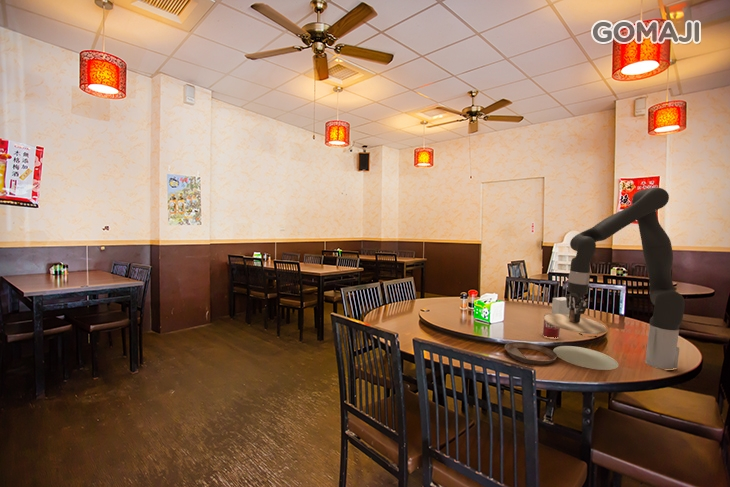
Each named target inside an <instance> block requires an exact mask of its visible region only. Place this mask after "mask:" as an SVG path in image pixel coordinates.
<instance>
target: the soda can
mask: <svg viewBox="0 0 730 487" xmlns="http://www.w3.org/2000/svg"><path fill="white" fill-rule="evenodd" d="M548 314H552V312H551V313H549V312H547V313H545V314H544V315H543V317H544V316H545V315H548ZM560 329H561V328H559V327H556V326H553V325H551V324H549V323H547V322H546V321H545V320H544V319H543V327H542V336H543V335H544V336H547V337H554V338H555V337H556V338H557V337H559V338H560Z"/></svg>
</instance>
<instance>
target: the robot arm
mask: <svg viewBox="0 0 730 487" xmlns="http://www.w3.org/2000/svg"><path fill="white" fill-rule="evenodd" d="M669 200H670V195H669V193H668V192H667V190H666V189H664V188H661V187H649V188H644V189H640V190H638V191H636V192H635V193H634V194H633V196H632V199H631V203H632V204H631V205H629V206H628V207H626V208H624V209H622V210H620V211H618V212H616V213H613V214H612V215H610V216H608V217H606V218H604V219H602V220H601V221H599V222H598V223H597V224H595V225H594V226H593V227H590V228H588V229H586V230H584V231H581V232H579V233H578V234H576V235H574V236H573V237H572V238H571V239H570V242H569V246H570V248H571V249H572V250H573V251H575V252H576V255H575V257H572V259H571V260H570V261H571V262H570V267H569V268H570V269H569V274H568V281H567V289H566V290H567V292H569V293H568V294H565V298H566V302H567V308H569V310H570V312H571V310H575V313H574V322H580V317H581V315H583V314H585V313H586V310H587V308H588V305H589V303H588V301H585V295H587V294H588V293H589V286H590V285H589V284H590V272H591V271H590V270H591V262H592V261H593V257H594V255H595V253H596V249H597V244H596V243H597V242H602V241H605V240H607V239H609V238H610V237H612V236H613V235H615V234H616V233H618V232H619V231H620V230H622V229H624V228H625V227H627V226H629V225H630V224H633V223H634V222H637V225H638V230H639V235H640V240H641V247H642V248H641V249H642V253H643V257H644V262H645V267H646V270H647V273H648V274H647V275H648V278H649V279H648V281H649V299H650V302H651V303H652V305H653V306H654V308H653V312H652V317H650V318H649V325H648V326H649V328H648V335H647V344H646V352H645V364H647V365H648V366H650V367H653V368H655V367H657V368H656V369H658V368H663V369H673V368H677V369H678V365H679V364H678V363H679V358H680V357H679V355H680V347H679V346H678V340H679V334H680V332H679V331H680V327H681V325H682V323H683V319H684V313H685V304H686V303H685V298H684V296H683V295H682V294H681V293H680V292H678V291H676V289H675V286H674V283H673V280H672V268H673V263H674V252H673V246H672V241H671V239H670V237H669V236H668V234H667V233H666V231H665V229H664V228H663V226H661V224H660V222H659V220H658V219H659V218H658V216H657V215H658V214H657V211H658V210H660V209H662V208H664V207H665V206H666V205H667V204H668V202H669ZM570 312H569V319H570Z"/></svg>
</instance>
